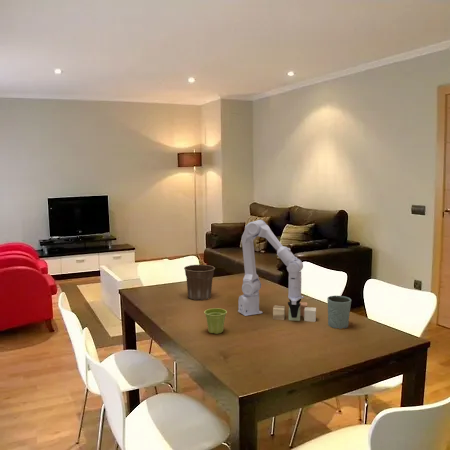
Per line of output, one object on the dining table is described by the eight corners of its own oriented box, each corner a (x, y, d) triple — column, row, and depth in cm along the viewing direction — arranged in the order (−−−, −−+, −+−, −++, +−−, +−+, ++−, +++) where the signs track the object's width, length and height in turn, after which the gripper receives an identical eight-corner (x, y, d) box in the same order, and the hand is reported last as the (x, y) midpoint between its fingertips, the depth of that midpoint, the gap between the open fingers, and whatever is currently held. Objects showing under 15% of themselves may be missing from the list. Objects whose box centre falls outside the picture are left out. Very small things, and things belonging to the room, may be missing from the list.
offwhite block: (315, 321, 205) (315, 311, 205) (304, 321, 206) (304, 310, 206) (315, 318, 210) (315, 307, 209) (304, 317, 211) (304, 307, 210)
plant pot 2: (210, 337, 187) (210, 316, 186) (200, 329, 195) (200, 310, 194) (230, 333, 191) (230, 313, 190) (220, 326, 200) (220, 307, 199)
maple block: (284, 320, 208) (284, 309, 207) (272, 319, 209) (273, 308, 208) (284, 316, 213) (284, 306, 212) (274, 316, 214) (274, 305, 213)
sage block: (299, 320, 207) (299, 309, 206) (288, 320, 208) (288, 309, 207) (300, 317, 211) (300, 306, 211) (289, 316, 212) (289, 306, 212)
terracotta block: (306, 316, 213) (307, 305, 213) (296, 315, 214) (296, 305, 214) (307, 312, 218) (307, 302, 218) (296, 312, 219) (296, 301, 219)
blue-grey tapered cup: (334, 320, 207) (335, 294, 206) (355, 325, 200) (355, 298, 199) (322, 325, 200) (322, 298, 199) (342, 331, 193) (343, 303, 192)
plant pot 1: (220, 295, 248) (220, 266, 246) (203, 303, 234) (203, 272, 232) (196, 291, 256) (196, 263, 254) (178, 298, 243) (177, 268, 241)
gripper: (303, 291, 200) (302, 321, 201) (304, 282, 214) (303, 311, 216) (286, 290, 201) (286, 320, 203) (289, 282, 215) (288, 310, 217)
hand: (294, 315), depth 209 cm, fingers closed on sage block, 5 cm apart
